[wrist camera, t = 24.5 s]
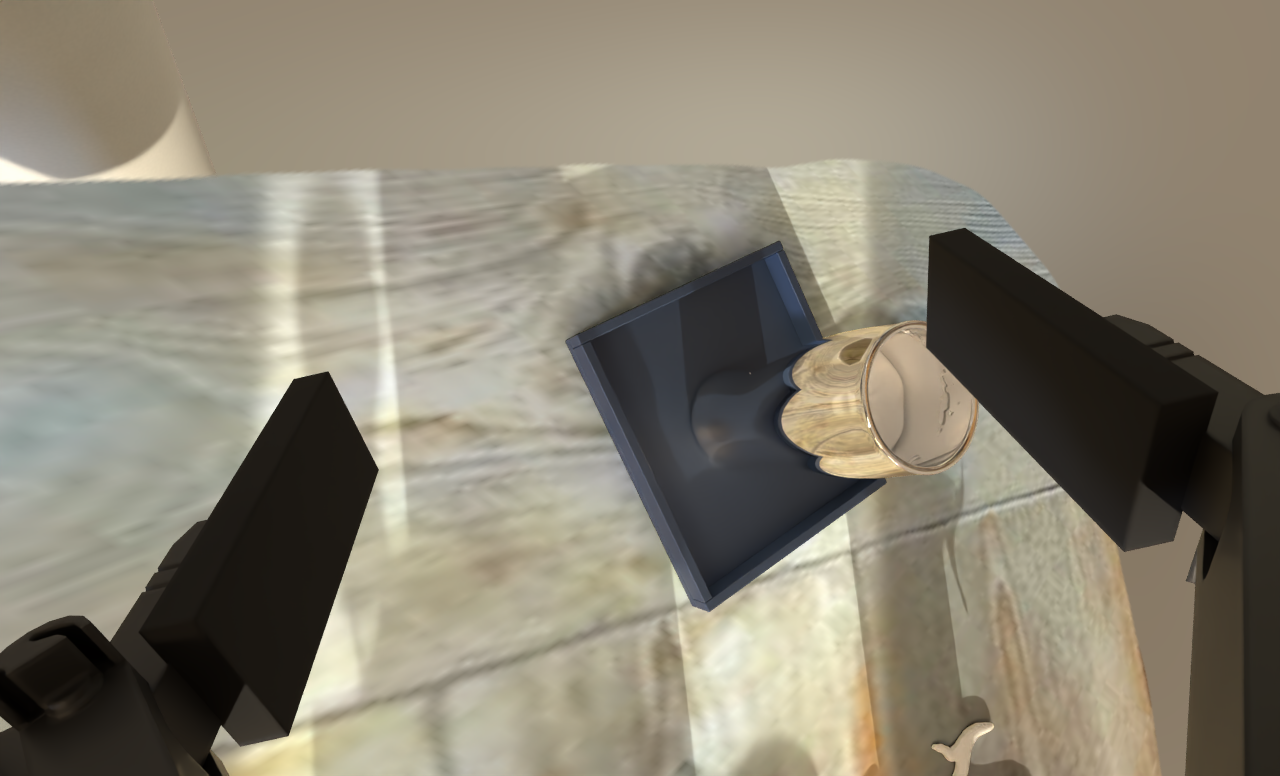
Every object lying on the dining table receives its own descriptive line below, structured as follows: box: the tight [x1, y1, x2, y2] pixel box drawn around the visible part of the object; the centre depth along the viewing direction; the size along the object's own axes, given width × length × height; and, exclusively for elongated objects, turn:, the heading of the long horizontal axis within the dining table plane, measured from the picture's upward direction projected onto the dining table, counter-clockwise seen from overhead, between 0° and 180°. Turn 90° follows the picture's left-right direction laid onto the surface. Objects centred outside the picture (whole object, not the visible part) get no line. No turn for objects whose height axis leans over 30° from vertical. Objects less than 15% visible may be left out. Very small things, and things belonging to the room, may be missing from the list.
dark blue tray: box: [566, 241, 887, 612], centre depth 42 cm, size 17×15×2 cm
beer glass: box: [691, 320, 979, 479], centre depth 36 cm, size 7×7×15 cm
